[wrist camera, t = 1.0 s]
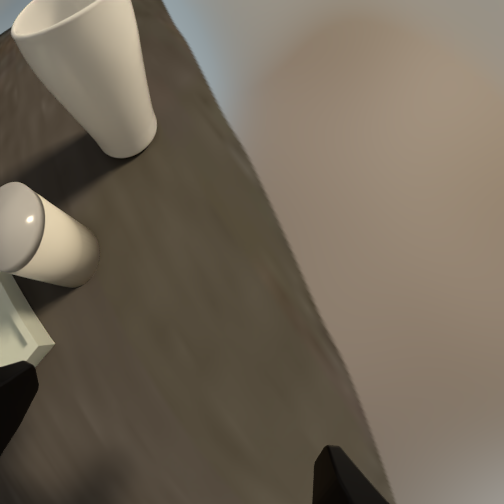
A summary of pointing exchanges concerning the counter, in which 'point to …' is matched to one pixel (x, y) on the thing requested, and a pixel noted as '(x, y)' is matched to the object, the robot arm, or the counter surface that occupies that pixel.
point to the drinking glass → (91, 67)
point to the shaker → (43, 240)
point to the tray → (19, 327)
